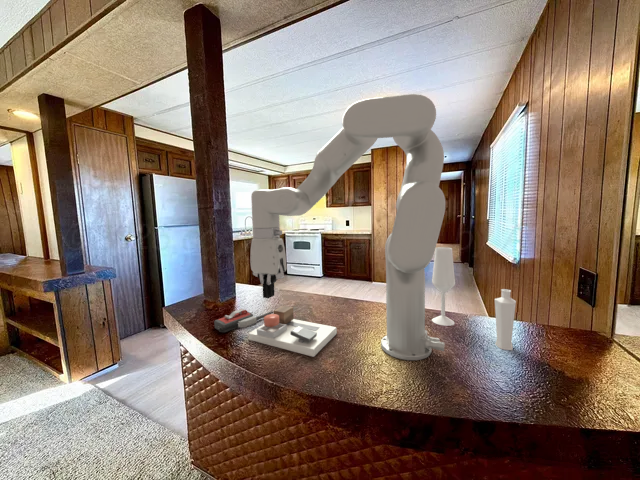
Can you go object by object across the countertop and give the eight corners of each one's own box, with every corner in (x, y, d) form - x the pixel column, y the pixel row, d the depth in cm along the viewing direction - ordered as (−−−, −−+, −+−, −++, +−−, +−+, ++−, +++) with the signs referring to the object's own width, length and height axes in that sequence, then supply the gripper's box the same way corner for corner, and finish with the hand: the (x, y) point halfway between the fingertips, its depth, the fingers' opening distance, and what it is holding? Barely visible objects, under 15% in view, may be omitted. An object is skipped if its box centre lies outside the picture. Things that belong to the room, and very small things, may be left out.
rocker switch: (316, 336, 70) (317, 332, 70) (309, 342, 66) (309, 338, 66) (298, 328, 72) (298, 325, 72) (290, 334, 69) (290, 330, 69)
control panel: (336, 333, 76) (336, 322, 76) (313, 356, 64) (313, 343, 64) (278, 321, 87) (277, 311, 87) (249, 339, 75) (248, 328, 74)
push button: (282, 321, 75) (282, 315, 75) (273, 327, 71) (272, 320, 71) (270, 319, 77) (270, 313, 77) (261, 325, 74) (260, 318, 73)
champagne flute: (458, 321, 82) (459, 247, 80) (449, 327, 78) (450, 250, 75) (437, 315, 87) (438, 246, 85) (427, 321, 83) (428, 248, 81)
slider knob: (293, 319, 82) (293, 307, 82) (284, 325, 78) (283, 312, 78) (283, 317, 84) (283, 305, 84) (274, 322, 80) (273, 310, 80)
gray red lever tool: (223, 337, 78) (275, 316, 93) (222, 323, 77) (274, 304, 92) (210, 329, 83) (260, 311, 98) (209, 316, 83) (259, 300, 98)
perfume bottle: (506, 352, 63) (508, 293, 62) (490, 344, 67) (491, 289, 66) (520, 349, 64) (522, 291, 63) (503, 341, 68) (505, 287, 67)
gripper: (295, 233, 72) (297, 296, 74) (255, 232, 79) (258, 290, 81) (279, 235, 65) (281, 304, 67) (237, 234, 72) (240, 297, 74)
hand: (268, 296), depth 74 cm, fingers closed
